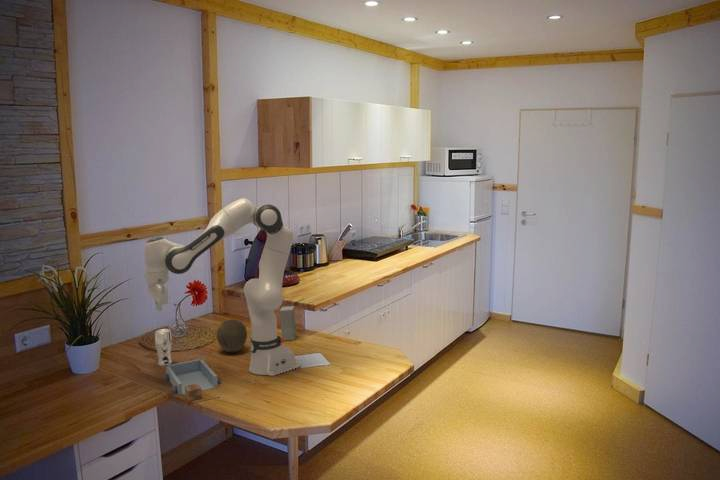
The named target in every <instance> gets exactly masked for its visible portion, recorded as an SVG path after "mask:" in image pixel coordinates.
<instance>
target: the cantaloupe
mask: <svg viewBox="0 0 720 480" xmlns="http://www.w3.org/2000/svg"><path fill="white" fill-rule="evenodd" d="M216 338H217V342H218V345H219V347H221V348H222V350H223V351H225V352H228V353H237V352H239V351H240V350H242V349H243V347H244V346H245V343H246V341H247V338H248V331H247V327H246V326H245V323H243V322H242V321H241V320H239V319H228V320H224V321H223V322H221V323H220V324H219V326H218V328H217V332H216Z"/></svg>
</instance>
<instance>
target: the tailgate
mask: <svg viewBox="0 0 720 480" xmlns="http://www.w3.org/2000/svg"><path fill="white" fill-rule="evenodd" d="M214 399H221V396H218V397H214V398H208V399H204V400H201V401H196V402H192V403H188V406H189V405H193V404H197V403H198V404H199V403H202V402H206V401H210V400H214Z"/></svg>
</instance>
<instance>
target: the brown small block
mask: <svg viewBox="0 0 720 480" xmlns="http://www.w3.org/2000/svg"><path fill="white" fill-rule="evenodd" d="M184 397H185V398H186V400H187V402H190V401H195V400H200V399H203V398H202V397H203V395H202V390H201V387H200V386H199V384H198V383H197V384H192V385H188V386H185V394H184Z"/></svg>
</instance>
